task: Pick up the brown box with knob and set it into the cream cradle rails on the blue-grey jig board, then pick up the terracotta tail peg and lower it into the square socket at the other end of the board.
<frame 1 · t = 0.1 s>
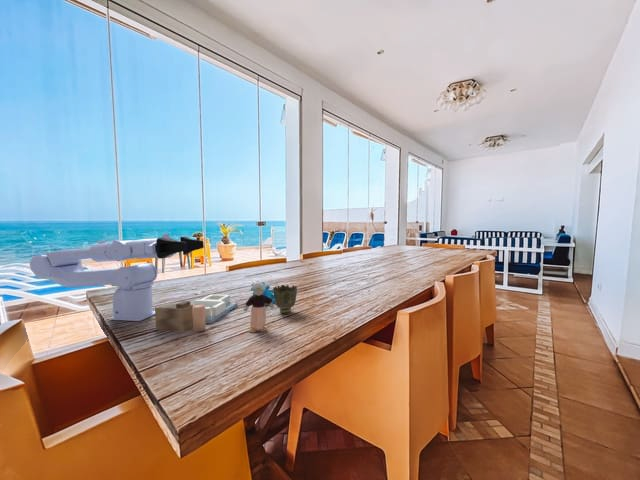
hand: (194, 245, 74), 22 cm above the table, tool horizontal, fingers open, 7 cm apart
grandmother figurine: (259, 330, 67), on the table
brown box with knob: (175, 328, 69), on the table
tail peg: (199, 329, 68), on the table
jig: (207, 313, 80), on the table
blue white lumpy piece: (264, 303, 91), on the table
cup: (285, 313, 81), on the table
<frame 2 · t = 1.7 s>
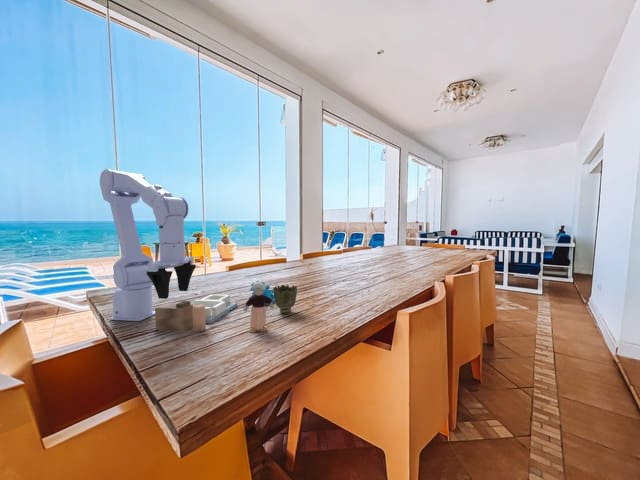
hand: (173, 294, 68), 9 cm above the table, tool pointing down, fingers open, 7 cm apart
nothing on the table moved.
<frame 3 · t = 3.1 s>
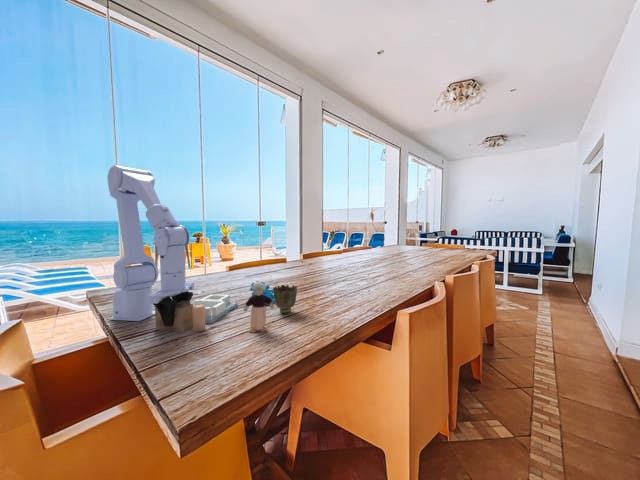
hand: (174, 322, 69), 1 cm above the table, tool pointing down, fingers closed on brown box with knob, 4 cm apart
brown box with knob: (175, 327, 69), on the table, touching gripper
everything else where it was.
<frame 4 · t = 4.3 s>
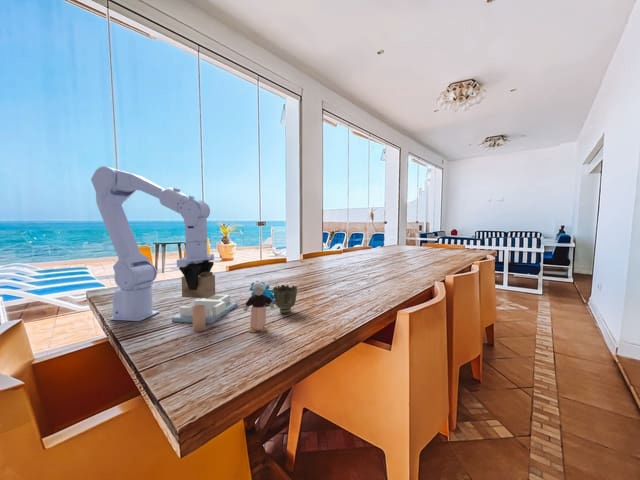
hand: (197, 287, 76), 9 cm above the table, tool pointing down, fingers closed on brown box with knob, 4 cm apart
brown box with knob: (199, 295, 76), point 7 cm above the table, touching gripper
everything else where it was.
when the fingers open (4 cm above the table, at t = 5.7 s): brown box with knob stays where it is, resting on jig.
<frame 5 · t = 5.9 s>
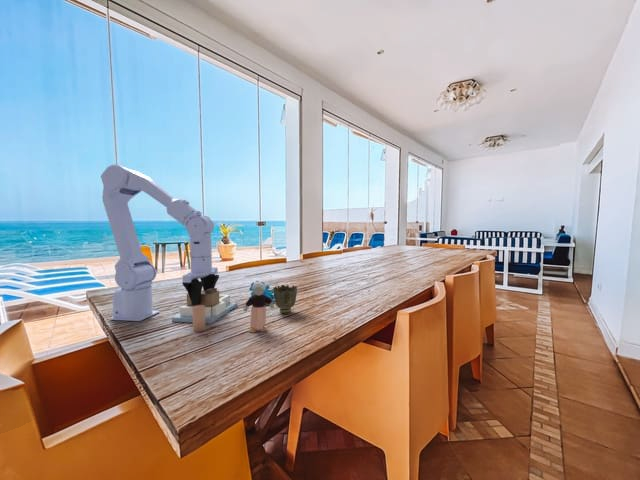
hand: (202, 301, 78), 4 cm above the table, tool pointing down, fingers open, 6 cm apart
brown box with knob: (203, 311, 78), point 1 cm above the table, touching jig
everything else where it was.
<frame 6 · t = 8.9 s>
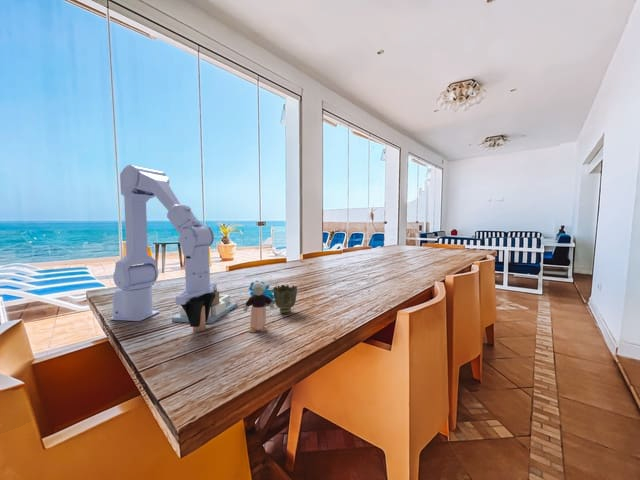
hand: (199, 323, 68), 1 cm above the table, tool pointing down, fingers closed on tail peg, 3 cm apart
tail peg: (199, 329, 68), on the table, touching gripper
everything else where it was.
when the fingers open (5 cm above the table, at t = 12.0 s): tail peg drops 2 cm, resting on jig.
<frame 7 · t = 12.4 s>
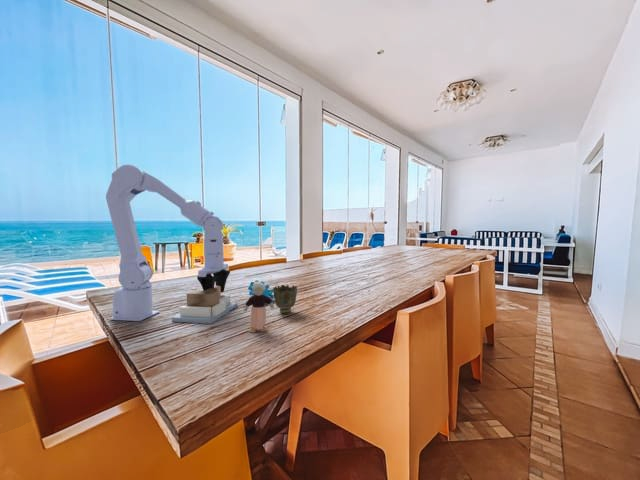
hand: (215, 294, 85), 5 cm above the table, tool pointing down, fingers open, 6 cm apart
tail peg: (215, 304, 85), point 1 cm above the table, touching jig
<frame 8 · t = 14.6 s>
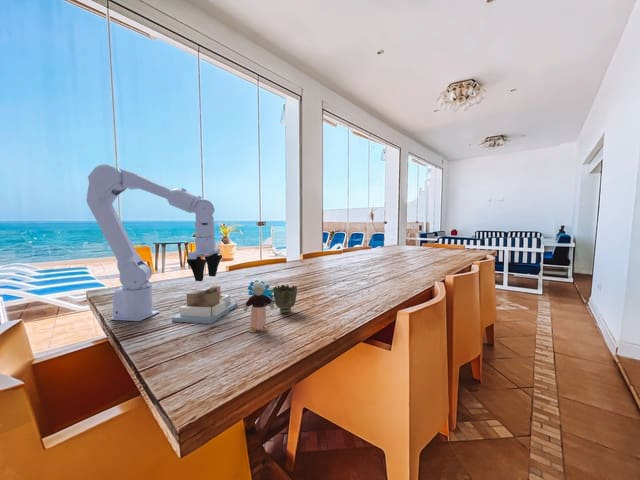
hand: (206, 278, 85), 10 cm above the table, tool pointing down, fingers open, 7 cm apart
at the end: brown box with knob 0.3 cm from the target spot on the jig, point 1.2 cm above the jig's base; tail peg 0.2 cm from the target spot on the jig, point 1.2 cm above the jig's base; tail peg tilted 1° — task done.
